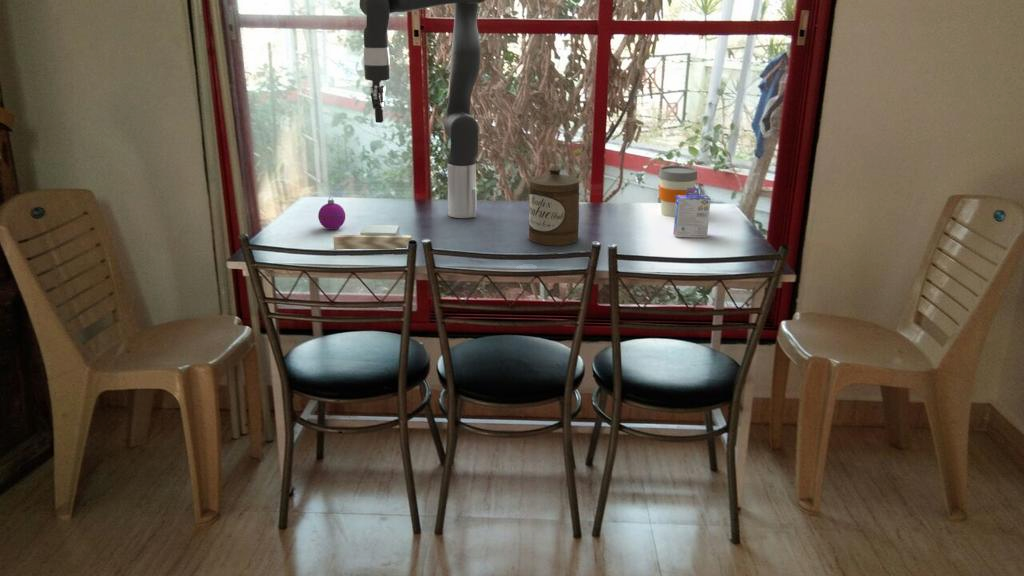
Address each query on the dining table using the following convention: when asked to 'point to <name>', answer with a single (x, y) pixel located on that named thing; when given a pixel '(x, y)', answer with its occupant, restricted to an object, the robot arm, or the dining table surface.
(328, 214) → the christmas ornament
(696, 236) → the ink cartridge box
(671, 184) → the reusable coffee cup
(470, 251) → the dining table surface
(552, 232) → the wooden container
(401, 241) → the board
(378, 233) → the block
